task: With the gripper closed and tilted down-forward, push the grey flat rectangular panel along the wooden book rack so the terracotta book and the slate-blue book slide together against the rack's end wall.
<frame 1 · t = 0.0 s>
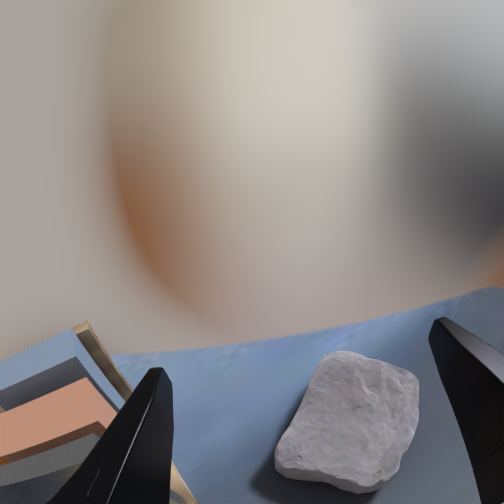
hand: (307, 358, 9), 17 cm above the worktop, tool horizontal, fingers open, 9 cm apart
book A: (102, 438, 20), point 1 cm above the worktop, touching wooden book rack
stone block: (354, 432, 21), on the worktop
book B: (116, 475, 17), point 1 cm above the worktop, touching wooden book rack
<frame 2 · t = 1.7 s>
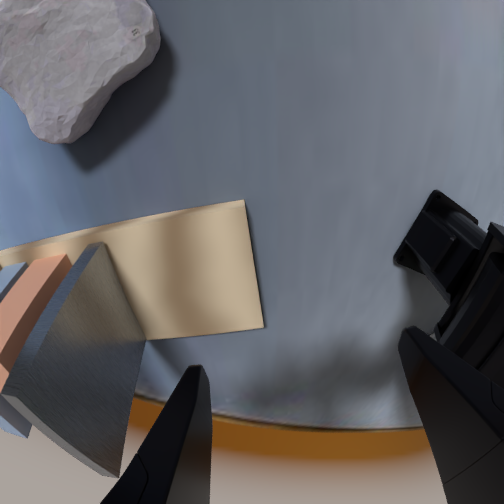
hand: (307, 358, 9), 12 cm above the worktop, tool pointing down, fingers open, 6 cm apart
book A: (35, 302, 21), point 1 cm above the worktop, touching wooden book rack
grey flat rectangular panel: (93, 359, 15), point 8 cm above the worktop, slide at 0.0 cm
stone block: (80, 32, 12), on the worktop
book B: (70, 299, 21), point 1 cm above the worktop, touching wooden book rack
wooden book rack: (113, 285, 21), on the worktop
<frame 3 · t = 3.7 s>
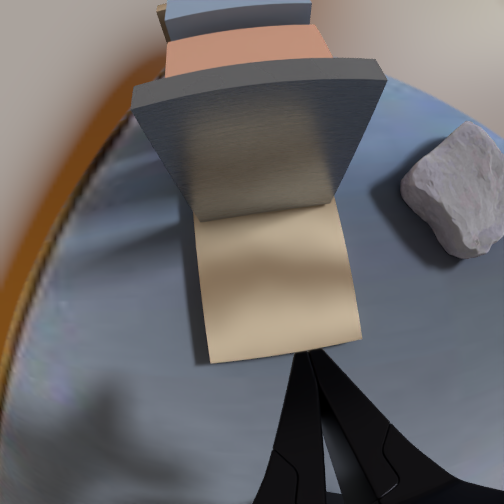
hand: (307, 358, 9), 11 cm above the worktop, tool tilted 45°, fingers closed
book A: (247, 108, 23), point 1 cm above the worktop, touching wooden book rack
grey flat rectangular panel: (263, 159, 15), point 7 cm above the worktop, slide at 0.0 cm
stone block: (460, 199, 22), on the worktop
book B: (254, 149, 22), point 1 cm above the worktop, touching wooden book rack
wooden book rack: (262, 199, 22), on the worktop
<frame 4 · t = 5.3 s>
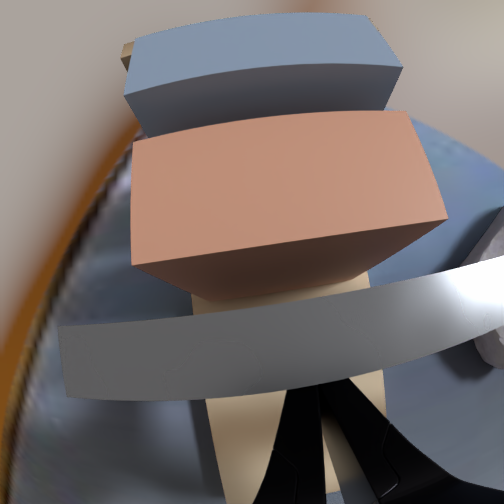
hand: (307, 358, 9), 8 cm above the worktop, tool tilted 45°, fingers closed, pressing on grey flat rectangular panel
book A: (265, 190, 18), point 1 cm above the worktop, touching wooden book rack
grey flat rectangular panel: (300, 330, 10), point 7 cm above the worktop, slide at 1.0 cm, touching gripper
stone block: (503, 289, 17), on the worktop
book B: (277, 260, 17), point 1 cm above the worktop, touching wooden book rack
wooden book rack: (286, 327, 17), on the worktop
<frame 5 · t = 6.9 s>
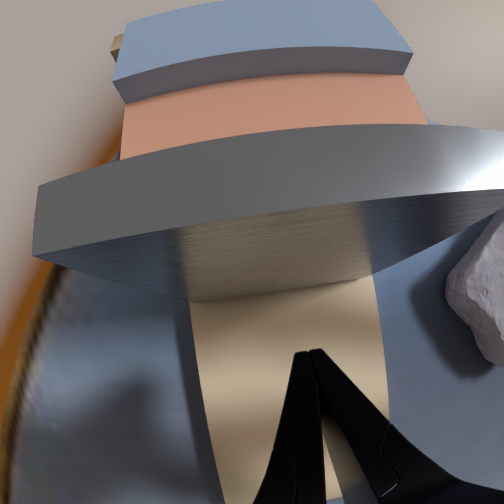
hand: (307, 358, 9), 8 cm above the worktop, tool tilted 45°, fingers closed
book A: (265, 183, 17), point 1 cm above the worktop, touching book B, wooden book rack
grey flat rectangular panel: (291, 255, 10), point 8 cm above the worktop, slide at 3.8 cm, touching book B
book B: (274, 237, 16), point 1 cm above the worktop, touching book A, grey flat rectangular panel, wooden book rack
wooden book rack: (287, 332, 16), on the worktop
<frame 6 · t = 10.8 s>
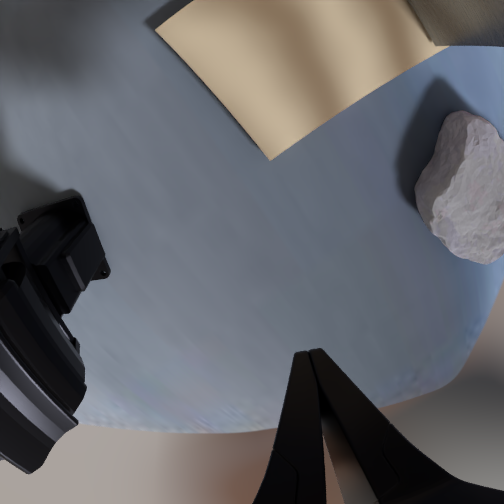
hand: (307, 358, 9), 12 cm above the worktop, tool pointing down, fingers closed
stone block: (464, 190, 20), on the worktop
wooden book rack: (361, 1, 12), on the worktop
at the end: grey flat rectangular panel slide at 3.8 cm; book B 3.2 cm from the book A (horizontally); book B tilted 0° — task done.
